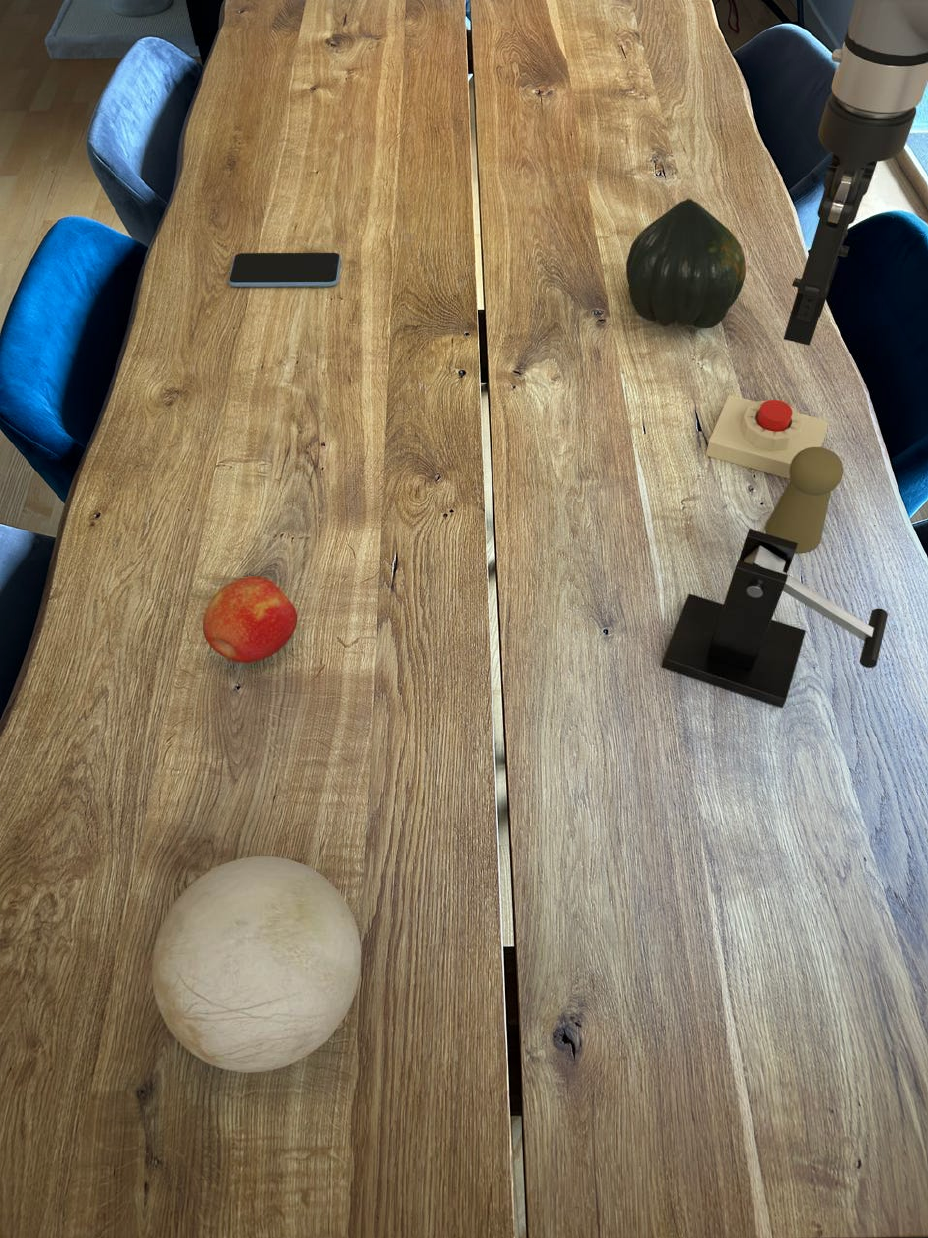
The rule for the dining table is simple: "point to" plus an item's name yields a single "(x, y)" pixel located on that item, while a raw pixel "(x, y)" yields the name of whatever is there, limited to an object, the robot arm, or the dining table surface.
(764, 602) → the bracket
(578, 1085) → the dining table surface
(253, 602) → the apple
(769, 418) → the button
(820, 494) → the olive game pawn
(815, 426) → the control block
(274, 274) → the smartphone
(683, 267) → the squash
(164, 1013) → the decorative sphere
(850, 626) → the lever
